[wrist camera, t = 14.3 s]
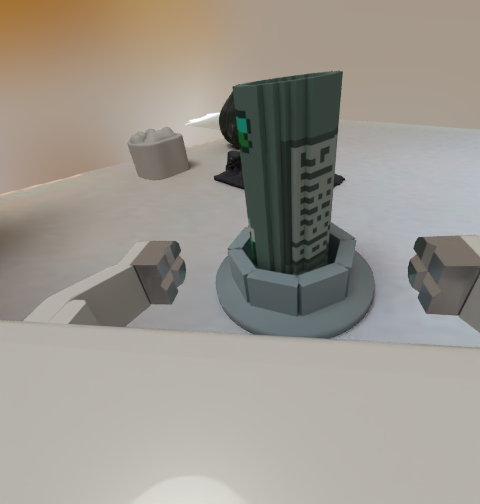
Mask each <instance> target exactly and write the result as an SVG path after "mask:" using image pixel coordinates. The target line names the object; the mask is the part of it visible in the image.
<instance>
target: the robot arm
mask: <svg viewBox="0 0 480 504" xmlns="http://www.w3.org/2000/svg"><path fill="white" fill-rule="evenodd" d="M413 249H414V250H415V252H416V253H417V255H415V256H414V257H413V258H412V259H410V262H409V266H408V278H409V282H410V284H411V286H412V288H414V289H415V290H417V291H418V292H420V293H419V295H418V299H419V301H420V303H421V305H422V307H423V308H424V310H425V312H426V314H441V315H458V316H459V317H460V318H461V319H462V320H464V321H465V322H466V323H468V324H469V325H470V326H472V327H473V328H474V329H476V330H477V331H478V332H480V236H477V235H460V236H437V237H418V239H417V240H416V242H415V245H414V248H413ZM180 252H181V249H180V246H179V243H177V242H176V241H139V242H137V243H136V244H135V245H134V246H133V247H132V248H131V249H130V251H129V252H128V253H127V254H126V255H125V256H124V257H123V258H122V259H121V261H120V262H119V263H118V264H117V265H112V266H110V267H108V268H106V269H104V270H102V271H100V272H98V273H96V274H94V275H92V276H90V277H88V278H86V279H84V280H82V281H80V282H78V283H76V284H74V285H72V286H70V287H68V288H66V289H64V290H62V291H60V292H58V293H56V294H54V295H52V296H50V297H48V298H47V299H45V300H44V301H43V302H42V303H41V304H40V305H39V306H38V307H37V308H36V309H35V310H34V311H33V312H32V313H31V314H30V315H28V316H27V317H26V318H25V319H24V320H23V321H8V320H0V504H480V348H478V347H461V346H443V345H426V344H409V343H392V342H375V341H358V340H341V339H324V338H306V337H288V336H270V335H252V334H234V333H216V332H199V331H181V330H164V329H147V328H129V327H125V326H126V325H127V324H129V323H130V322H131V321H132V320H133V319H135V318H136V317H137V316H138V315H140V314H141V313H142V312H143V311H144V310H146V309H147V308H148V307H149V306H150V304H172V303H173V301H174V299H175V297H176V295H177V293H178V290H177V287H178V286H180V285H181V284H182V283H183V281H184V279H185V274H186V266H185V262H184V260H183V259H182V258H181V257H180V256H179V254H180Z"/></svg>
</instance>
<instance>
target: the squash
mask: <svg viewBox="0 0 480 504" xmlns="http://www.w3.org/2000/svg"><path fill="white" fill-rule="evenodd" d="M238 85H240V84H238ZM219 125H220V129H221V132H222V134H223V136H224V137H225V139H226V140H227V141H228V142H229V143H231V144H233V145H234V146H235V147H237V148H240V147H239V138H238V130H237V121H236V113H235V104H234V96H233V92H232V93H231V95H230V96H229V98H228V99H227V101H226V102H225V104H224V106H223V108H222V110H221V112H220V117H219Z"/></svg>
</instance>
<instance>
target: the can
mask: <svg viewBox="0 0 480 504" xmlns="http://www.w3.org/2000/svg"><path fill="white" fill-rule="evenodd" d="M342 74H343V72H341V71H334V72H333V71H331V72H321V73H311V74H304V75H295V76H289V77H282V78H274V79H268V80H261V81H256V82H250V83H245V84H241V85H236V86H233V96H234V104H235V113H236V121H237V130H238V138H239V147H240V155H241V163H242V172H243V180H244V189H245V197H246V206H247V214H248V223H249V231H250V239H251V248H252V256H253V265H254V266H255V268H256V269H262V270H267V271H273V272H278V273H284V274H289V275H295V276H298V275H301V274H304V273H307V272H310V271H312V270H315V269H318V268H321V267H324V266H327V259H328V247H329V235H330V222H331V210H332V198H333V185H334V173H335V161H336V148H337V136H338V123H339V111H340V97H341V86H342Z"/></svg>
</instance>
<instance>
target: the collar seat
mask: <svg viewBox="0 0 480 504" xmlns="http://www.w3.org/2000/svg"><path fill="white" fill-rule="evenodd" d="M354 239H355V238H354V237H353V236H351V235H350V234H348V233H347V232H345V231H344V230H342V229H341V228H339V227H338V226H336V225H334V224H333V223H331V222H330V235H329V247H328V259H327V266H324V267H321V268H318V269H315V270H312V271H310V272H307V273H304V274H301V275H298V276H295V275H289V274H284V273H278V272H273V271H267V270H262V269H256V268H255V266H254V265H253V256H252V248H251V239H250V231H249V225H248V228H247V227H245V228H244V229H243V230H242V232H241V233H240V234H239V235H238V236H237V238H236V239H235V240H234V241H233V243H232V244H231V245H230V246H229V247H228V256H227V257H226V258H225V259H224V260H223V262H222V263H221V265H220V267H219V269H218V272H217V276H216V289H217V294H218V298H219V301H220V304H221V306H222V308H223V310H224V311H225V313H226V314H227V315H228V316H229V318H230V319H232V320H233V321H234V322H235V323H236V324H237V325H239V326H240V327H242V328H243V329H245V330H247V331H249V332H251V333H253V334H255V335H270V336H288V337H306V338H324V339H328V338H331V337H334V336H336V335H339V334H341V333H343V332H345V331H347V330H349V329H350V328H351V327H353V326H354V325H356V324H357V323H358V322H359V321H360V320H361V319H362V318H363V317H364V315H365V314H366V312H367V311H368V309H369V307H370V304H371V301H372V297H373V292H374V287H375V284H374V276H373V272H372V270H371V268H370V266H369V265H368V263H367V262H366V260H365V259H364V258H363V257H362V256H361V255H360V254H359V253H357V252H356V251H355V245H356V240H354Z"/></svg>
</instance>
